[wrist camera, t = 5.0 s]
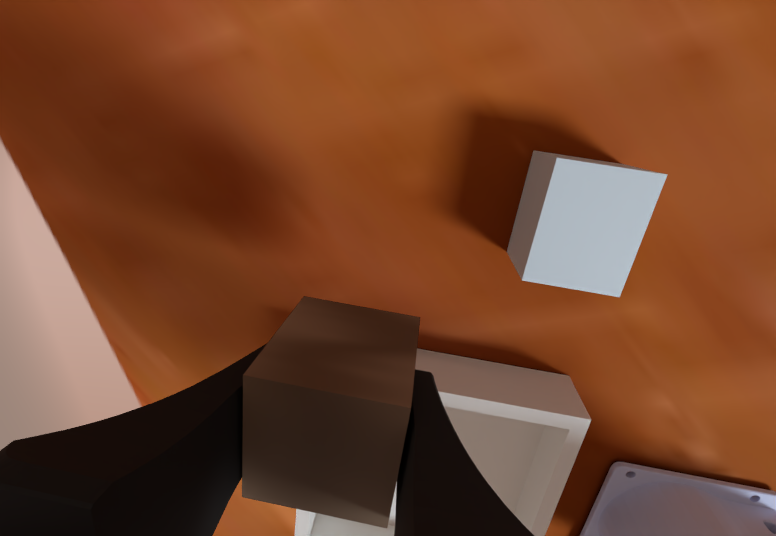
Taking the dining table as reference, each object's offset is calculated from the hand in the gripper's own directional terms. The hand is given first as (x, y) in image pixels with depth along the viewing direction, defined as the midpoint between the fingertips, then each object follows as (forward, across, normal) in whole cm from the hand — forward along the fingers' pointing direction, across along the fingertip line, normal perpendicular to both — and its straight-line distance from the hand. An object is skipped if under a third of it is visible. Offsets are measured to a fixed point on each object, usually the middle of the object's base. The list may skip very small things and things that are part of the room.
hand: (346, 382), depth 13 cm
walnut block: (+1, 0, 0) cm, 1 cm away
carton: (+10, -8, -5) cm, 13 cm away
